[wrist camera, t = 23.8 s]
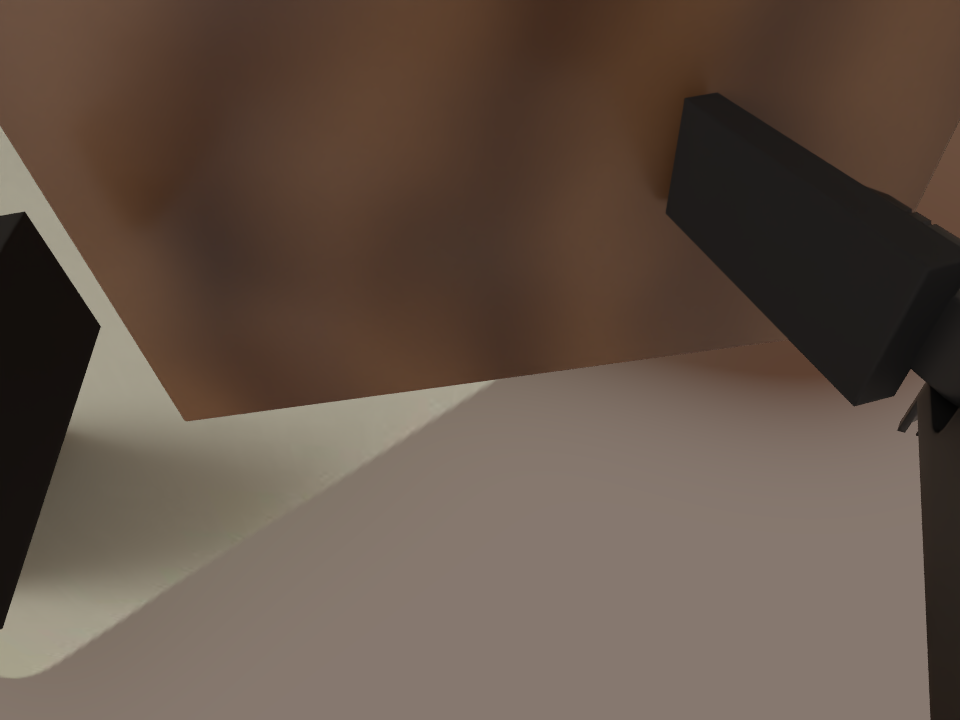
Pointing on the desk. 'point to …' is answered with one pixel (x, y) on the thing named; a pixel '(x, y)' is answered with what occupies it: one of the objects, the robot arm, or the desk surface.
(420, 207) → the lid
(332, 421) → the desk surface
